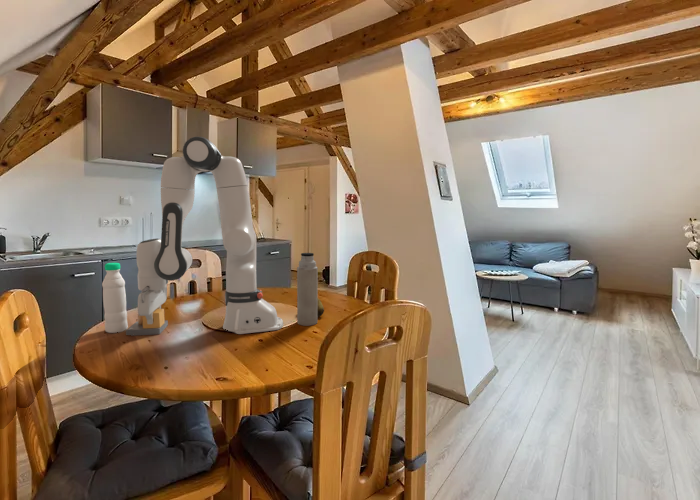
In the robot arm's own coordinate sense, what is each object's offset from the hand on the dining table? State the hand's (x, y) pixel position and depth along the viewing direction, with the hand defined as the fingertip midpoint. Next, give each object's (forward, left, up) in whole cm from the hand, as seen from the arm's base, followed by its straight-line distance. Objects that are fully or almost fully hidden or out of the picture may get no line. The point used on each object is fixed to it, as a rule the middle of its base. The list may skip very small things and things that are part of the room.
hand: (153, 320), depth 137 cm
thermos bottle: (-56, -2, -4) cm, 56 cm away
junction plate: (+3, -1, -4) cm, 5 cm away
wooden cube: (0, 0, -2) cm, 2 cm away
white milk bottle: (+14, -3, -4) cm, 14 cm away
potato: (-59, -13, -4) cm, 61 cm away
